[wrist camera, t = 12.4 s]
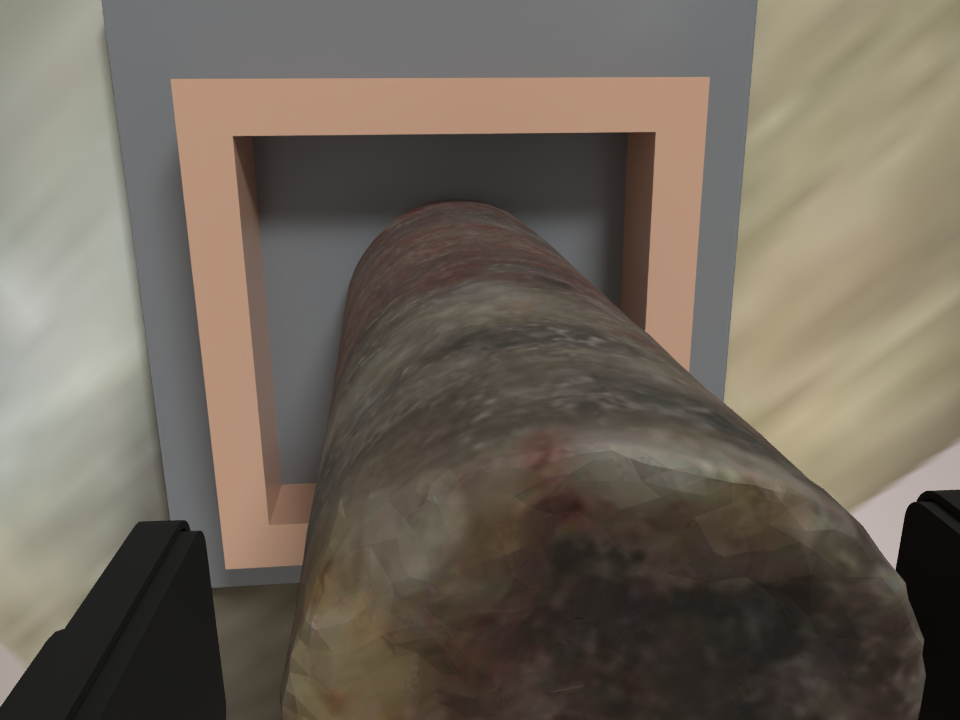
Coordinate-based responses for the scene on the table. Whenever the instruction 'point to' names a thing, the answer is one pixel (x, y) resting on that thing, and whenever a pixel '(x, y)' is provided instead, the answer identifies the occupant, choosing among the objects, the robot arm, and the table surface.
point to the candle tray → (399, 199)
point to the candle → (565, 516)
